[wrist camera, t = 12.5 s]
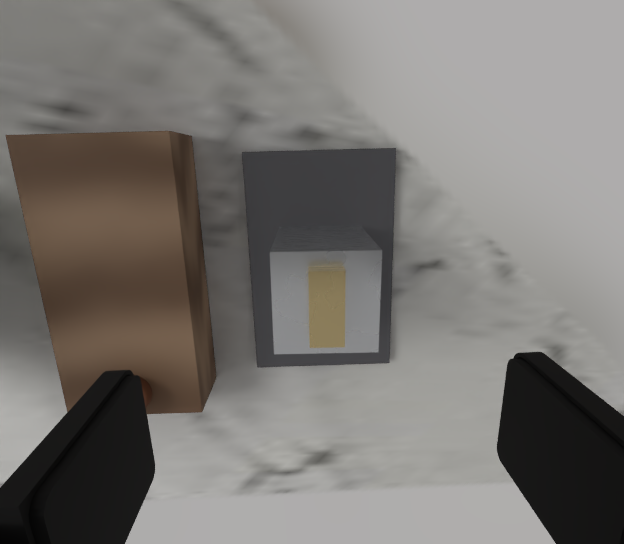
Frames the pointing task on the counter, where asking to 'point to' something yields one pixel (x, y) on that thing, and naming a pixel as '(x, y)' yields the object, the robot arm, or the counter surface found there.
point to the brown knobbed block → (120, 260)
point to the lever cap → (325, 290)
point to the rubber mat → (317, 212)
